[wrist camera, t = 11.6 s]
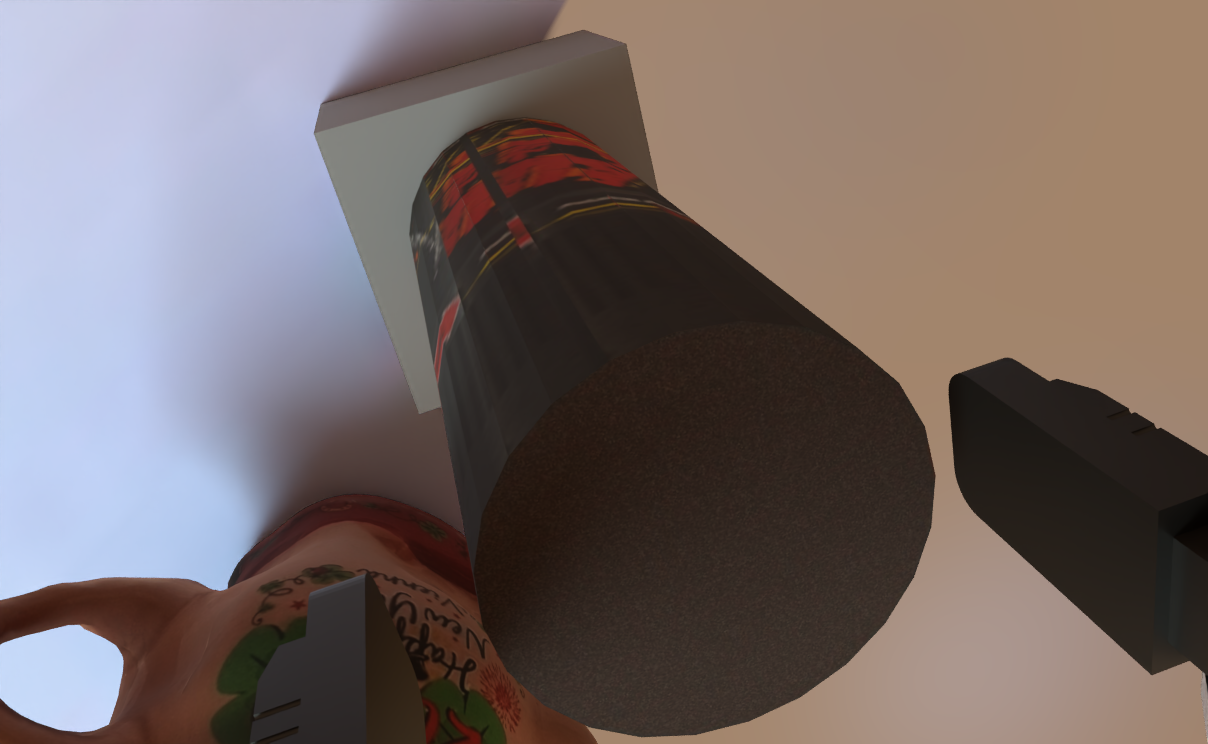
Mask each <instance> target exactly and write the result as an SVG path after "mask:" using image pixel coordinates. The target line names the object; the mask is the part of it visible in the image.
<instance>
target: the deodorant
mask: <svg viewBox="0 0 1208 744" xmlns="http://www.w3.org/2000/svg"><path fill="white" fill-rule="evenodd" d="M409 236H410V241H411V247H412V253H413V258H414V264H415V269H416V275H417V280H418V285H419V291H420V296H421V301H422V307H423V312H424V317H425V323H426V328H427V333H428V338H429V344H430V349H431V354H432V360H433V365H434V370H435V376H436V381H437V386H438V392H439V397H440V402H441V408H442V413H443V418H444V424H445V429H446V434H447V440H448V445H449V450H450V456H451V461H452V466H453V471H454V477H455V482H456V487H457V493H458V498H459V503H460V509H461V514H462V519H463V525H464V530H465V535H466V541H467V546H468V551H469V557H470V562H471V567H472V573H473V578H474V583H475V589H476V594H477V599H478V604H479V610H480V615H481V620H482V626H483V628H484V630H485V632H486V634H487V635H488V637H489V639H490V641H491V643H492V645H493V646H494V648H495V650H496V652H497V654H498V656H499V658H500V659H501V661H502V663H503V665H504V667H505V669H506V670H507V672H508V673H509V674H510V675H512V676H513V677H514V678H515V679H516V680H517V681H518V682H519V683H520V684H521V685H522V686H523V687H524V688H526V689H527V690H528V691H529V692H530V693H531V694H532V695H533V696H534V697H535V698H536V699H537V700H538V701H540V702H541V703H542V704H543V705H544V706H546V707H548V708H550V709H552V710H555V711H557V712H559V713H561V714H563V715H565V716H567V717H569V718H571V719H573V720H575V721H577V722H579V723H582V724H584V725H586V726H588V727H591V728H596V729H601V730H606V731H612V732H617V733H622V734H627V735H632V736H638V737H656V736H680V735H697V734H701V733H705V732H709V731H713V730H717V729H720V728H725V727H729V726H732V725H736V724H740V723H744V722H748V721H751V720H753V719H755V718H757V717H759V716H762V715H764V714H766V713H768V712H770V711H772V710H774V709H776V708H778V707H780V706H783V705H785V704H787V703H789V702H791V701H793V700H795V699H798V698H800V697H801V696H803V695H804V694H805V693H807V692H808V691H810V690H811V689H812V688H814V687H815V686H817V685H818V684H819V683H821V682H822V681H824V680H825V679H826V678H828V677H829V676H830V675H832V674H833V673H835V672H836V671H838V670H839V669H840V668H842V667H843V666H844V665H846V664H847V663H848V662H849V661H850V660H851V659H852V658H853V657H854V656H855V654H857V653H858V651H859V650H860V649H861V648H862V647H863V646H864V645H865V644H866V643H867V642H868V641H869V640H870V639H871V638H872V637H873V636H874V635H875V634H876V632H877V631H878V630H879V629H880V628H881V627H882V626H883V625H884V624H885V623H886V621H887V619H888V618H889V616H890V615H891V613H892V611H893V610H894V608H895V606H896V605H897V603H898V602H899V600H900V599H901V597H902V595H903V594H904V592H905V591H906V589H907V587H908V586H909V584H910V583H911V581H912V579H913V578H914V575H915V572H916V569H917V567H918V564H919V561H920V558H921V555H922V552H923V549H924V546H925V543H926V541H927V538H928V535H929V532H930V529H931V523H932V511H933V499H934V487H935V472H934V467H933V462H932V458H931V453H930V448H929V444H928V439H927V434H926V430H925V426H924V424H923V423H922V421H921V419H920V418H919V416H918V414H917V413H916V411H915V409H914V407H913V406H912V404H911V403H910V401H909V399H908V397H907V396H906V394H905V392H904V391H903V389H902V387H901V386H900V384H899V383H898V382H897V381H896V380H895V379H894V378H893V377H891V376H890V375H889V374H888V373H887V372H885V371H884V370H883V369H882V368H881V367H879V366H878V365H877V364H876V363H875V362H873V361H872V360H871V359H870V358H869V357H868V356H866V355H865V354H864V353H863V352H862V351H860V350H859V349H858V348H857V347H856V346H854V345H853V344H852V343H850V342H849V341H848V340H847V339H845V338H844V337H843V336H841V335H840V334H839V333H838V332H836V331H835V330H834V329H832V328H831V327H830V326H829V325H827V324H826V323H825V322H823V321H822V320H821V319H820V318H818V317H817V316H816V315H814V314H813V313H812V312H811V311H809V310H808V309H807V308H805V307H804V306H803V305H802V304H800V303H799V302H798V301H796V300H795V299H794V298H793V297H791V296H790V295H789V294H787V293H786V292H785V291H783V290H782V289H781V288H780V287H778V286H777V285H776V284H775V283H773V282H772V281H771V280H769V279H768V278H767V277H766V276H764V275H763V274H762V273H760V272H759V271H758V270H756V269H755V268H754V267H753V266H751V265H750V264H749V263H748V262H746V261H745V260H744V259H743V258H741V257H740V256H739V255H737V254H736V253H735V252H733V251H732V250H731V249H730V248H728V247H727V246H726V245H725V244H723V243H722V242H721V241H719V240H718V239H717V238H715V237H714V236H713V235H712V234H710V233H709V232H708V231H707V230H705V229H704V228H703V227H701V226H700V225H699V224H697V223H696V222H695V221H694V220H692V219H691V218H690V217H688V216H687V215H686V214H685V213H683V212H682V211H681V210H680V209H678V208H677V207H676V206H674V205H673V204H672V203H671V202H669V201H668V200H667V199H665V198H664V197H663V196H661V195H660V194H659V193H658V192H656V191H655V190H654V189H653V188H651V187H650V186H649V185H647V184H646V183H645V182H644V181H642V180H641V179H640V178H638V177H637V176H636V175H635V174H633V173H632V172H631V171H629V170H628V169H627V168H626V167H624V166H623V165H622V164H620V163H619V162H618V161H617V160H615V159H614V158H613V157H611V156H610V155H609V154H608V153H606V152H605V151H604V150H602V149H601V148H600V147H599V146H597V145H596V144H595V143H593V142H592V141H591V140H590V139H588V138H587V137H586V136H585V135H583V134H582V133H580V132H577V131H575V130H573V129H571V128H568V127H566V126H564V125H562V124H559V123H557V122H555V121H548V120H541V119H534V118H527V117H523V118H514V119H507V120H499V121H494V122H491V123H489V124H486V125H484V126H482V127H479V128H477V129H474V130H472V131H469V132H467V133H465V134H464V135H463V136H461V137H460V138H459V139H458V140H456V141H455V142H454V143H452V144H451V145H450V146H449V147H447V148H446V149H445V150H443V151H442V152H441V153H440V155H439V156H438V157H437V159H436V160H435V161H434V163H433V164H432V165H431V167H430V168H429V169H428V171H427V172H426V173H425V175H424V176H423V178H422V181H421V183H420V186H419V189H418V191H417V194H416V196H415V199H414V201H413V204H412V212H411V222H410V232H409Z"/></svg>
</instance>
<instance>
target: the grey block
mask: <svg viewBox="0 0 1208 744" xmlns="http://www.w3.org/2000/svg"><path fill="white" fill-rule="evenodd" d="M523 117H527V118H534V119H541V120H548V121H555V122H557V123H559V124H562V125H564V126H566V127H568V128H571V129H573V130H575V131H577V132H580V133H582V134H583V135H585V136H586V137H587V138H588V139H590V140H591V141H592V142H593V143H595V144H596V145H597V146H599V147H600V148H601V149H602V150H604V151H605V152H606V153H608V154H609V155H610V156H611V157H613V158H614V159H615V160H617V161H618V162H619V163H620V164H622V165H623V166H624V167H626V168H627V169H628V170H629V171H631V172H632V173H633V174H635V175H636V176H637V177H638V178H640V179H641V180H642V181H644V182H645V183H646V184H647V185H649V186H650V187H651V188H653V189H654V190H655V191H656V192H658V189H657V184H656V180H655V175H654V170H653V166H652V161H651V156H650V152H649V147H648V142H647V138H646V133H645V129H644V124H643V119H642V115H641V111H640V105H639V101H638V96H637V92H636V87H635V82H634V78H633V73H632V68H631V64H630V59H629V55H628V50H627V45H626V44H625V43H622V42H619V41H616V40H613V39H610V38H607V37H604V36H600V35H598V34H594V33H591V32H588V31H585V30H581V31H578V32H574V33H571V34H567V35H564V36H560V37H556V38H553V39H549V40H546V41H542V42H539V43H535V44H532V45H528V46H525V47H521V48H518V49H514V50H511V51H507V52H504V53H500V54H496V55H493V56H489V57H486V58H482V59H479V60H475V61H472V62H468V63H465V64H461V65H458V66H454V67H451V68H447V69H444V70H440V71H436V72H433V73H429V74H426V75H422V76H419V77H415V78H412V79H408V80H405V81H401V82H398V83H394V84H391V85H387V86H384V87H380V88H376V89H373V90H369V91H366V92H362V93H359V94H355V95H352V96H348V97H345V98H341V99H338V100H334V101H331V102H327V103H324V104H321V105H320V109H319V114H318V118H317V122H316V126H315V131H314V135H315V138H316V141H317V143H318V146H319V149H320V151H321V154H322V157H323V159H324V162H325V165H326V167H327V170H328V173H329V175H330V178H331V181H332V183H333V186H334V189H335V191H336V194H337V197H338V199H339V202H340V205H341V207H342V210H343V213H344V215H345V218H346V221H347V223H348V226H349V229H350V231H351V234H352V237H353V239H354V242H355V245H356V247H357V250H358V253H359V255H360V258H361V261H362V263H363V266H364V268H365V271H366V274H367V276H368V279H369V282H370V284H371V287H372V290H373V292H374V295H375V298H376V300H377V303H378V306H379V308H380V311H381V314H382V316H383V319H384V322H385V324H386V327H387V330H388V332H389V335H390V338H391V340H392V343H393V346H394V348H395V351H396V354H397V356H398V359H399V362H400V364H401V367H402V370H403V372H404V375H405V378H406V380H407V383H408V386H409V388H410V391H411V394H412V396H413V399H414V402H415V404H416V407H417V410H418V412H419V414H421V413H424V412H427V411H430V410H434V409H437V408H440V407H441V402H440V397H439V392H438V386H437V381H436V376H435V370H434V365H433V360H432V354H431V349H430V344H429V338H428V333H427V328H426V323H425V317H424V312H423V307H422V301H421V296H420V291H419V285H418V280H417V275H416V269H415V264H414V258H413V253H412V247H411V241H410V236H409V232H410V222H411V212H412V204H413V201H414V199H415V196H416V194H417V191H418V189H419V186H420V183H421V181H422V178H423V176H424V175H425V173H426V172H427V171H428V169H429V168H430V167H431V165H432V164H433V163H434V161H435V160H436V159H437V157H438V156H439V155H440V153H441V152H442V151H443V150H445V149H446V148H447V147H449V146H450V145H451V144H452V143H454V142H455V141H456V140H458V139H459V138H460V137H461V136H463V135H464V134H465V133H467V132H469V131H472V130H474V129H477V128H479V127H482V126H484V125H486V124H489V123H491V122H494V121H499V120H507V119H514V118H523Z"/></svg>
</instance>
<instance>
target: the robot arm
mask: <svg viewBox="0 0 1208 744" xmlns="http://www.w3.org/2000/svg"><path fill="white" fill-rule="evenodd" d="M949 404H950V417H951V430H952V443H953V455H954V468H955V474H956V479H957V482H958V485H959V488H960V491H961V493H962V495H963V497H964V499H965V500H966V502H967V503H968V505H969V507H970V508H971V509H972V510H973V512H974V513H975V514H976V515H977V516H978V517H979V518H980V519H982V520H983V521H984V522H985V523H986V524H987V525H988V526H989V527H990V528H991V529H992V530H994V531H995V532H996V533H997V534H998V535H999V536H1000V537H1001V538H1002V539H1003V540H1004V541H1006V542H1007V543H1008V544H1009V545H1010V546H1011V547H1012V548H1013V549H1014V550H1015V551H1017V552H1018V553H1019V554H1020V555H1021V556H1022V557H1023V558H1024V559H1025V560H1026V561H1027V562H1029V563H1030V564H1031V565H1032V566H1033V567H1034V568H1035V569H1036V570H1037V571H1038V572H1040V573H1041V574H1042V575H1043V576H1044V577H1045V578H1046V579H1047V580H1048V581H1049V582H1051V583H1052V584H1053V585H1054V586H1055V587H1056V588H1057V589H1058V590H1059V591H1060V592H1061V593H1062V594H1063V595H1065V596H1066V597H1067V598H1068V599H1069V600H1070V601H1071V602H1072V603H1073V604H1074V605H1076V606H1077V607H1078V608H1079V609H1080V610H1081V611H1082V612H1083V613H1084V614H1085V615H1086V616H1088V617H1089V618H1090V619H1091V620H1092V621H1093V622H1094V623H1095V624H1096V625H1097V626H1098V627H1100V628H1101V629H1102V630H1103V631H1104V632H1105V633H1106V634H1107V635H1108V636H1110V637H1111V638H1112V639H1113V640H1114V641H1115V642H1116V643H1117V644H1118V645H1119V646H1120V647H1121V648H1123V649H1124V650H1125V651H1126V652H1127V653H1128V654H1129V655H1130V656H1131V657H1132V658H1133V659H1135V660H1136V661H1137V662H1138V663H1139V664H1140V665H1141V666H1142V667H1143V668H1144V669H1145V670H1147V671H1148V672H1149V673H1150V674H1151V675H1154V674H1156V673H1159V672H1161V671H1164V670H1167V669H1169V668H1172V667H1174V666H1177V665H1180V664H1182V663H1185V662H1187V661H1191V662H1192V663H1193V664H1194V665H1196V666H1197V667H1198V668H1199V669H1200V670H1201V671H1202V681H1201V698H1202V705H1203V713H1204V720H1205V728H1206V736H1207V743H1208V456H1207V455H1206V454H1204V453H1202V452H1201V451H1199V450H1197V449H1195V448H1194V447H1192V446H1191V445H1189V444H1187V443H1186V442H1184V441H1182V440H1180V439H1179V438H1177V437H1175V436H1174V435H1172V434H1170V433H1169V432H1167V431H1165V430H1164V429H1162V428H1159V429H1156V427H1155V425H1154V423H1152V422H1150V421H1149V420H1147V419H1145V418H1144V417H1142V416H1140V415H1138V414H1137V413H1132V414H1131V413H1130V411H1129V408H1127V407H1125V406H1124V405H1122V404H1120V403H1118V402H1116V401H1115V400H1113V399H1112V398H1110V397H1108V396H1107V395H1105V394H1103V393H1101V392H1100V391H1098V390H1095V389H1091V388H1088V387H1084V386H1081V385H1077V384H1074V383H1070V382H1066V381H1063V380H1059V379H1055V380H1052V381H1048V380H1046V379H1045V378H1043V377H1041V376H1040V375H1038V374H1037V373H1035V372H1033V371H1032V370H1030V369H1029V368H1027V367H1025V366H1024V365H1022V364H1021V363H1019V362H1017V361H1016V360H1014V359H1012V358H1003V359H1000V360H997V361H994V362H991V363H988V364H985V365H982V366H979V367H976V368H973V369H970V370H967V371H964V372H962V373H958V374H956V375H954V376H953V377H952V378H951V380H950V383H949ZM253 715H254V718H255V721H253V722H252V729H251V736H250V744H426V733H425V722H424V711H423V703H422V698H421V693H420V689H419V685H418V681H417V678H416V675H415V672H414V669H413V666H412V663H411V661H410V659H409V656H408V654H407V652H406V650H405V647H404V645H403V643H402V641H401V638H400V636H399V634H398V631H397V629H396V627H395V625H394V622H393V620H392V618H391V616H390V613H389V611H388V609H387V607H386V604H385V602H384V600H383V598H382V595H381V593H380V591H379V589H378V586H377V584H376V582H375V581H374V579H373V577H372V576H371V575H370V574H369V573H366V574H363V575H360V576H357V577H354V578H351V579H348V580H345V581H342V582H339V583H337V584H334V585H331V586H328V587H325V588H322V589H319V590H316V591H313V592H311V593H310V595H309V599H308V611H307V624H306V637H303V638H300V639H297V640H294V641H291V642H288V643H286V644H283V645H280V646H278V648H277V650H276V651H275V653H274V655H273V657H272V658H271V660H270V662H269V663H268V665H267V667H266V668H265V670H264V672H263V673H262V675H261V677H260V679H259V680H258V685H257V693H256V700H255V707H254V714H253Z"/></svg>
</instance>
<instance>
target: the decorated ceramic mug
mask: <svg viewBox="0 0 1208 744" xmlns="http://www.w3.org/2000/svg"><path fill="white" fill-rule="evenodd" d="M366 573H369V574H370V575H371V576H372V577H373V579H374V581H375V582H376V584H377V586H378V589H379V591H380V593H381V595H382V598H383V600H384V602H385V604H386V607H387V609H388V611H389V613H390V616H391V618H392V620H393V622H394V625H395V627H396V629H397V631H398V634H399V636H400V638H401V641H402V643H403V645H404V647H405V650H406V652H407V654H408V656H409V659H410V661H411V663H412V666H413V669H414V672H415V675H416V678H417V681H418V685H419V689H420V693H421V698H422V703H423V711H424V722H425V733H426V744H598V743H597V741H596V740H595V738H594V737H593V735H592V734H591V732H590V731H589V730H588V729H587V727H586V726H585V725H584V724H582V723H579V722H577V721H575V720H573V719H571V718H569V717H567V716H565V715H563V714H561V713H559V712H557V711H555V710H552V709H550V708H548V707H546V706H544V705H543V704H542V703H541V702H540V701H538V700H537V699H536V698H535V697H534V696H533V695H532V694H531V693H530V692H529V691H528V690H527V689H526V688H524V687H523V686H522V685H521V684H520V683H519V682H518V681H517V680H516V679H515V678H514V677H513V676H512V675H510V674H509V673H508V672H507V670H506V669H505V667H504V665H503V663H502V661H501V659H500V658H499V656H498V654H497V652H496V650H495V648H494V646H493V645H492V643H491V641H490V639H489V637H488V635H487V634H486V632H485V630H484V628H483V626H482V620H481V615H480V610H479V604H478V599H477V594H476V589H475V583H474V578H473V573H472V567H471V562H470V557H469V551H468V546H467V541H466V537H465V536H464V535H463V534H461V533H460V532H459V531H457V530H456V529H455V528H453V527H451V526H450V525H448V524H447V523H445V522H443V521H442V520H440V519H438V518H436V517H434V516H433V515H431V514H429V513H426V512H424V511H422V510H419V509H417V508H414V507H412V506H409V505H406V504H403V503H401V502H397V501H394V500H391V499H387V498H383V497H379V496H372V495H360V494H353V495H342V496H336V497H332V498H329V499H325V500H322V501H320V502H317V503H315V504H312V505H310V506H308V507H307V508H305V509H303V510H302V511H300V512H298V513H297V514H296V515H294V516H293V517H292V518H291V519H289V520H288V521H287V522H286V523H284V524H283V525H282V526H281V527H279V528H278V529H277V530H276V531H274V532H273V533H272V534H271V535H269V536H268V537H267V538H266V539H264V540H263V541H261V542H260V543H258V544H257V545H256V546H255V547H253V548H252V549H251V550H250V551H249V552H248V553H247V554H246V555H245V556H244V557H243V558H242V559H241V561H240V562H239V563H238V564H237V566H236V567H235V569H234V571H233V573H232V575H231V577H230V580H229V582H228V589H226V590H223V591H217V590H212V589H209V588H207V587H206V586H204V585H202V584H200V583H198V582H196V581H192V580H189V579H179V578H126V577H113V578H100V579H95V580H89V581H82V582H74V583H60V584H56V585H51V586H47V587H45V588H42V589H39V590H37V591H34V592H31V593H27V594H24V595H20V596H16V597H12V598H8V599H4V600H0V644H2V643H4V642H7V641H10V640H13V639H16V638H19V637H22V636H26V635H29V634H34V633H38V632H42V631H46V630H50V629H54V628H58V627H62V626H66V625H81V626H82V627H83V628H84V629H86V630H88V631H90V632H92V633H95V634H97V635H99V636H101V637H103V638H105V639H107V640H108V641H110V642H112V643H113V644H115V645H116V646H117V647H118V649H119V651H120V652H121V654H122V656H123V660H124V665H123V675H122V679H121V684H120V689H119V696H118V699H117V702H116V705H115V708H114V711H113V714H112V717H111V720H110V723H109V725H107V726H105V727H102V728H100V729H98V730H95V731H90V732H72V731H62V730H57V729H54V728H51V727H48V726H45V725H42V724H39V723H36V722H34V721H32V720H30V719H28V718H26V717H24V716H21V715H20V714H19V713H17V712H16V711H14V710H13V709H11V708H10V707H8V706H7V705H6V704H5V703H4V702H3V701H2V700H1V699H0V744H250V736H251V729H252V722H253V721H255V718H254V715H253V714H254V707H255V700H256V693H257V685H258V680H259V679H260V677H261V675H262V673H263V672H264V670H265V668H266V667H267V665H268V663H269V662H270V660H271V658H272V657H273V655H274V653H275V651H276V650H277V648H278V646H280V645H283V644H286V643H288V642H291V641H294V640H297V639H300V638H303V637H306V624H307V611H308V599H309V595H310V593H311V592H313V591H316V590H319V589H322V588H325V587H328V586H331V585H334V584H337V583H339V582H342V581H345V580H348V579H351V578H354V577H357V576H360V575H363V574H366Z"/></svg>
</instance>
